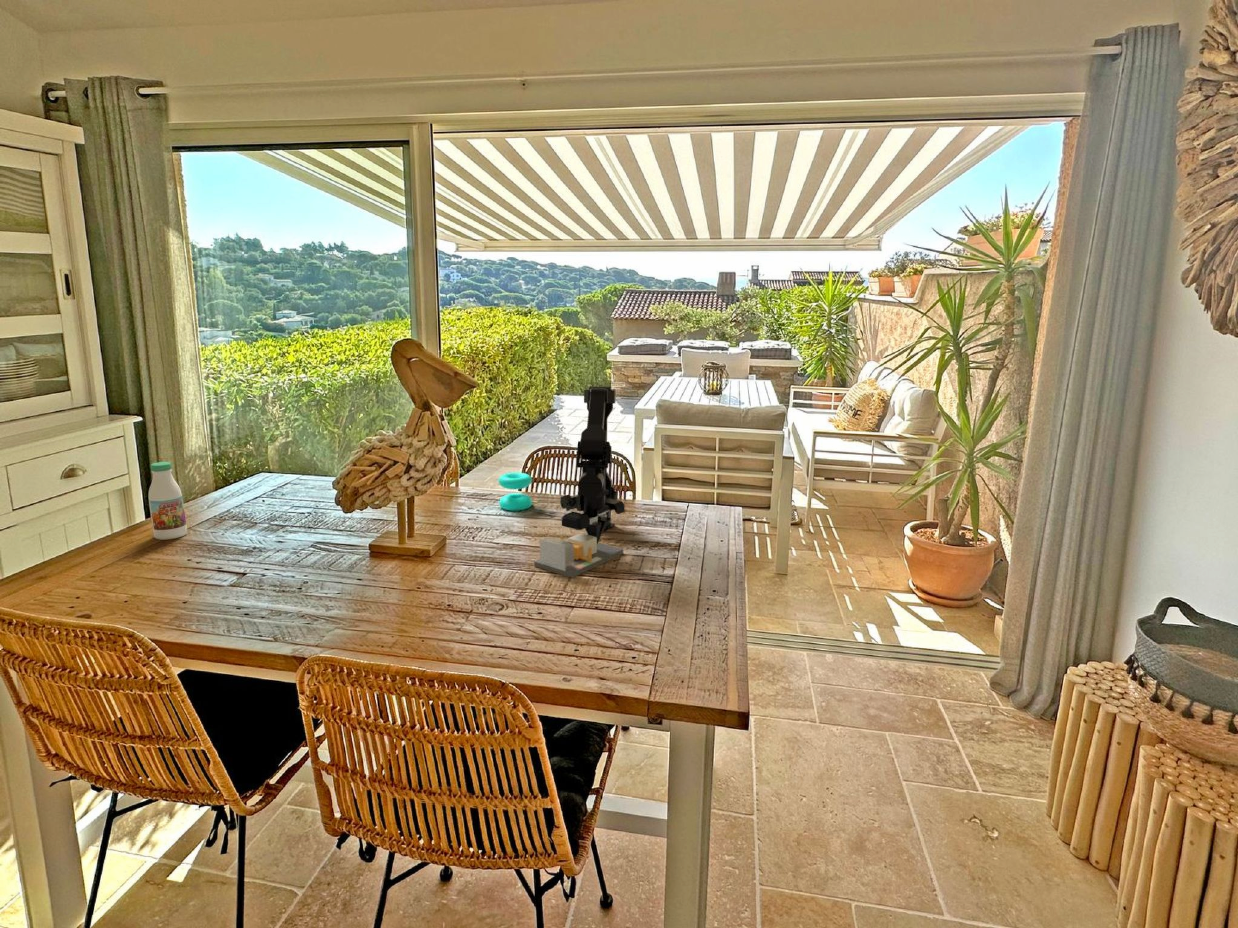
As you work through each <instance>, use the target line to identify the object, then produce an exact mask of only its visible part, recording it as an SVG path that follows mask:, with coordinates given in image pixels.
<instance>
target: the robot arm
mask: <svg viewBox="0 0 1238 928" xmlns="http://www.w3.org/2000/svg"><path fill="white" fill-rule="evenodd" d="M616 393H617V391H616V389H612V386H606V385H604V386H603V385H602V386H601V385H599V386H598V385H596V386H595V385H594V386H593V385H589V387H588V389H584V390H583V403H584V404H586V409H587V411H588V412H587V413H588V414H587V421H586V422H587V425H586V428H585V429H584V430H582V431H581V435H580V440H578V441H577V449H576V452H577V454H576V466H575V467H576V468H578V469H579V468H581V475H580V478H579V480H578V484H577V485H578V486H577V488H578V491H577V494H575V495H572V496H571V495H570V494H565V495H562V496H560V502H559V503H560V507H561V509H563V510H564V509H565V510H566V512H568V513H565V514H564V515H563V516H562V517H561V526H562V527H565V528H569V529H573V530H576V531H582V530H584V529H585V531H586V534H587V535H591V536H594V537H597V544H598V543H600V539H601V538H602V535H603V534H604V531H606V530H608V529H611V528H613V527H615V526H616V523H612V522H611V521H612V516H611V515H612V513H611V512H612V511H613V510H614V512H615V514H616V515H620V514H622V513H625V512H626V511H625V508H626V507H625V503H624V502H623V501H622V500H619V499H618V492H617V491H616V489H615V486H613V480H612V478H611V475H610V474H609V472H608V468H609V465H611V464H612V446H611V443H610V441H608V418H609V417H610V415H611V413H612V412H613V410H614V404H616V400H617V399H616V398H617V397H616V395H617V394H616ZM575 509H576V511H578V512H576V511H571V510H575ZM569 511H570V512H569ZM580 512H582V513H580Z"/></svg>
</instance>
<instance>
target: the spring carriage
mask: <svg viewBox="0 0 1238 928" xmlns="http://www.w3.org/2000/svg"><path fill="white" fill-rule="evenodd" d="M567 542H570V543H574V544H577V545H581V546H582V556H585V557H587V556H588V548H589V547H590V548H592V554H594V553H596V552H597V537H594V536H591V535H588V534H587V533H582V532H581V533H578V534H575V535H573V536H570V537H568V539H567Z"/></svg>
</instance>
